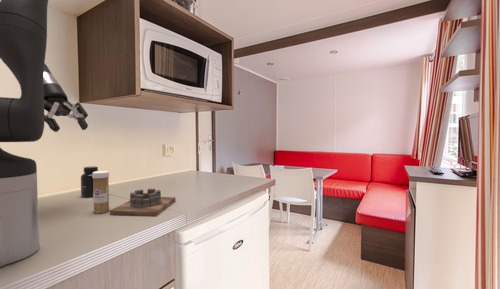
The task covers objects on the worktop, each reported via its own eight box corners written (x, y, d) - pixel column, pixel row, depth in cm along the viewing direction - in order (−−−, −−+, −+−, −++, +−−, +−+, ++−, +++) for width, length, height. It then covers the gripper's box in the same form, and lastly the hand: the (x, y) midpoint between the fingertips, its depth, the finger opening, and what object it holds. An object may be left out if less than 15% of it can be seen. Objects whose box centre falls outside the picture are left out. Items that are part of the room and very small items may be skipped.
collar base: (155, 216, 70) (155, 199, 69) (109, 215, 70) (109, 198, 70) (175, 201, 86) (175, 187, 85) (137, 200, 86) (137, 186, 86)
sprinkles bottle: (91, 214, 71) (89, 172, 70) (96, 209, 75) (95, 170, 74) (107, 213, 72) (106, 172, 71) (111, 208, 76) (110, 170, 76)
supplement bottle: (77, 198, 88) (76, 168, 88) (85, 193, 95) (84, 166, 94) (97, 197, 90) (96, 168, 90) (103, 192, 97) (103, 165, 96)
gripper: (24, 79, 65) (52, 123, 64) (75, 84, 79) (99, 122, 78) (14, 94, 68) (40, 138, 67) (65, 97, 81) (88, 134, 80)
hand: (72, 129), depth 72 cm, fingers open, 8 cm apart
